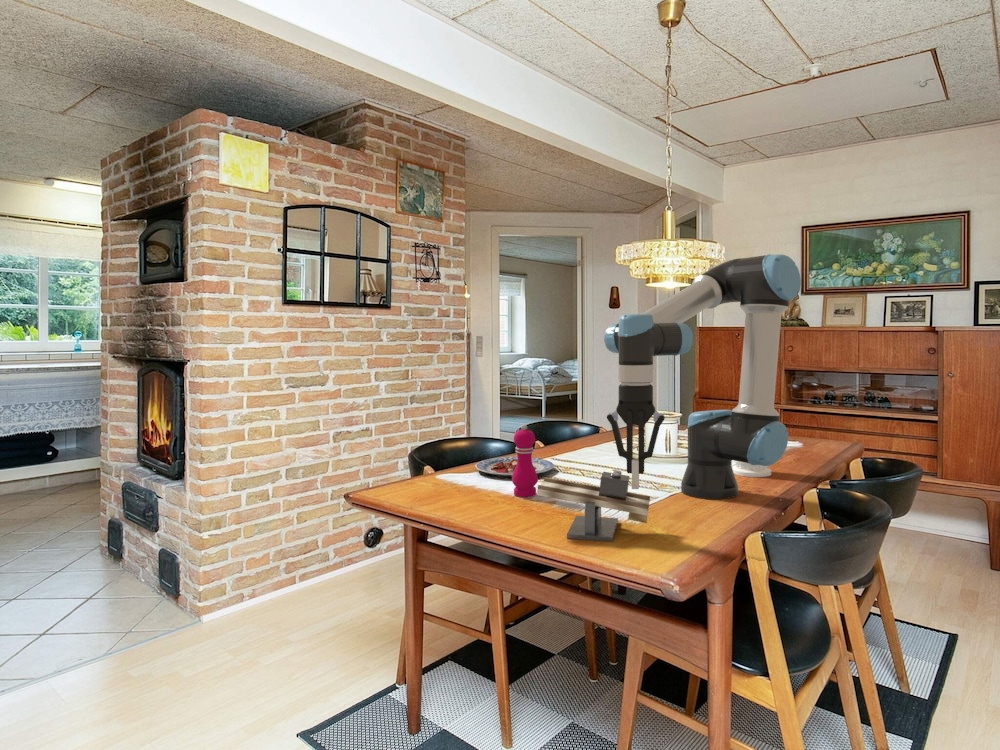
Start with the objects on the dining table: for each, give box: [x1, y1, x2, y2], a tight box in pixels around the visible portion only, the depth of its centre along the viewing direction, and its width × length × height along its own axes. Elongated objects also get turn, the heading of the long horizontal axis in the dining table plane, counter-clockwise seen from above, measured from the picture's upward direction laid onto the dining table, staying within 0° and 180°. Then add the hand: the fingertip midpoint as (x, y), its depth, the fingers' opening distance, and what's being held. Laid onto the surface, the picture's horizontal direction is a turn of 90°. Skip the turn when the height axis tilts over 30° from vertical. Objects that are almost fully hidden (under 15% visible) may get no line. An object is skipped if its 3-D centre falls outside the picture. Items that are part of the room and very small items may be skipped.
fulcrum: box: [566, 502, 619, 543], centre depth 146 cm, size 10×14×8 cm
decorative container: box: [732, 461, 772, 478], centre depth 199 cm, size 12×12×18 cm
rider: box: [599, 469, 630, 501], centre depth 145 cm, size 6×5×6 cm
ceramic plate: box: [474, 456, 555, 478], centre depth 208 cm, size 26×26×3 cm
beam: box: [536, 476, 651, 524], centre depth 146 cm, size 25×8×4 cm, turn 75°
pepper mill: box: [511, 424, 539, 498], centre depth 178 cm, size 7×7×20 cm
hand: (635, 487), depth 143 cm, fingers closed
